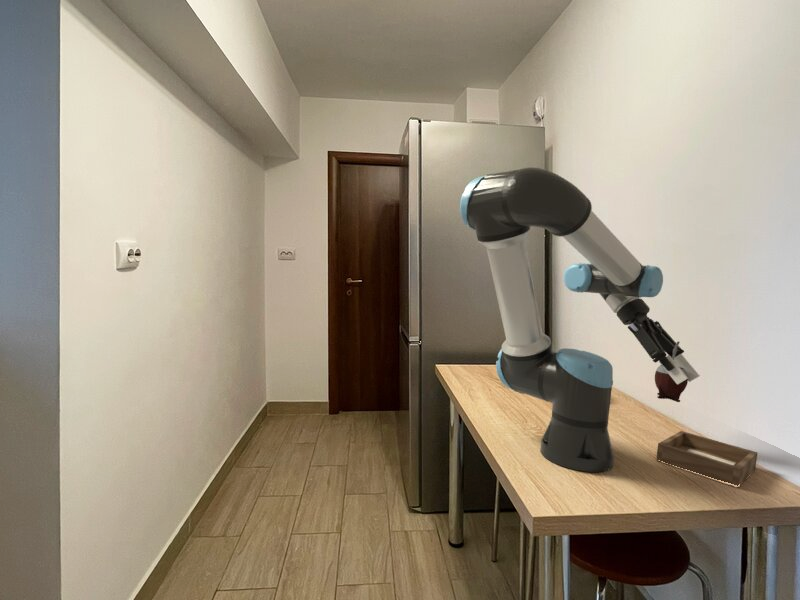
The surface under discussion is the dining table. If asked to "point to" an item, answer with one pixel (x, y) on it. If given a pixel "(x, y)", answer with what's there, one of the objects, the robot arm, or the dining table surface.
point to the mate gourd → (669, 382)
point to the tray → (708, 457)
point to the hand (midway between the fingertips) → (688, 380)
